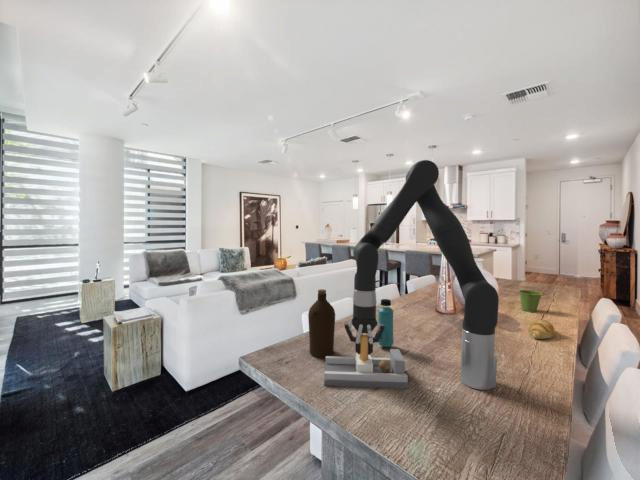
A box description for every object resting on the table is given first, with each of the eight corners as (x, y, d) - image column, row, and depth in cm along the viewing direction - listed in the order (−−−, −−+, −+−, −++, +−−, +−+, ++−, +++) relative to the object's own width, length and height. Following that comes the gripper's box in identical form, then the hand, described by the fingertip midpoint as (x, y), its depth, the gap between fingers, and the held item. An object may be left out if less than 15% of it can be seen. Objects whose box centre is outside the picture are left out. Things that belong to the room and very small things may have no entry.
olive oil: (335, 358, 112) (336, 293, 111) (307, 358, 112) (307, 293, 111) (334, 347, 123) (334, 287, 121) (308, 346, 123) (309, 287, 122)
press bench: (398, 366, 106) (398, 346, 106) (407, 388, 92) (408, 364, 92) (325, 364, 107) (325, 344, 107) (324, 385, 93) (324, 362, 93)
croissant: (542, 349, 130) (554, 336, 127) (519, 333, 136) (529, 320, 133) (552, 336, 144) (562, 324, 141) (530, 322, 150) (540, 310, 147)
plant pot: (523, 313, 173) (524, 293, 172) (513, 307, 184) (514, 289, 184) (546, 314, 171) (547, 294, 170) (534, 308, 182) (535, 290, 182)
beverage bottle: (396, 347, 123) (397, 299, 122) (388, 352, 118) (388, 302, 117) (382, 342, 128) (383, 296, 127) (374, 347, 123) (374, 299, 122)
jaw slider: (369, 364, 104) (370, 330, 103) (372, 377, 95) (373, 340, 95) (355, 364, 104) (355, 330, 103) (357, 376, 95) (357, 340, 95)
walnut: (389, 369, 101) (389, 357, 101) (391, 375, 97) (392, 363, 97) (377, 368, 101) (378, 357, 101) (379, 374, 97) (379, 362, 97)
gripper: (384, 300, 102) (383, 349, 103) (343, 299, 103) (342, 348, 103) (388, 306, 94) (386, 359, 95) (343, 305, 95) (343, 358, 96)
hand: (363, 353), depth 99 cm, fingers closed on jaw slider, 3 cm apart
